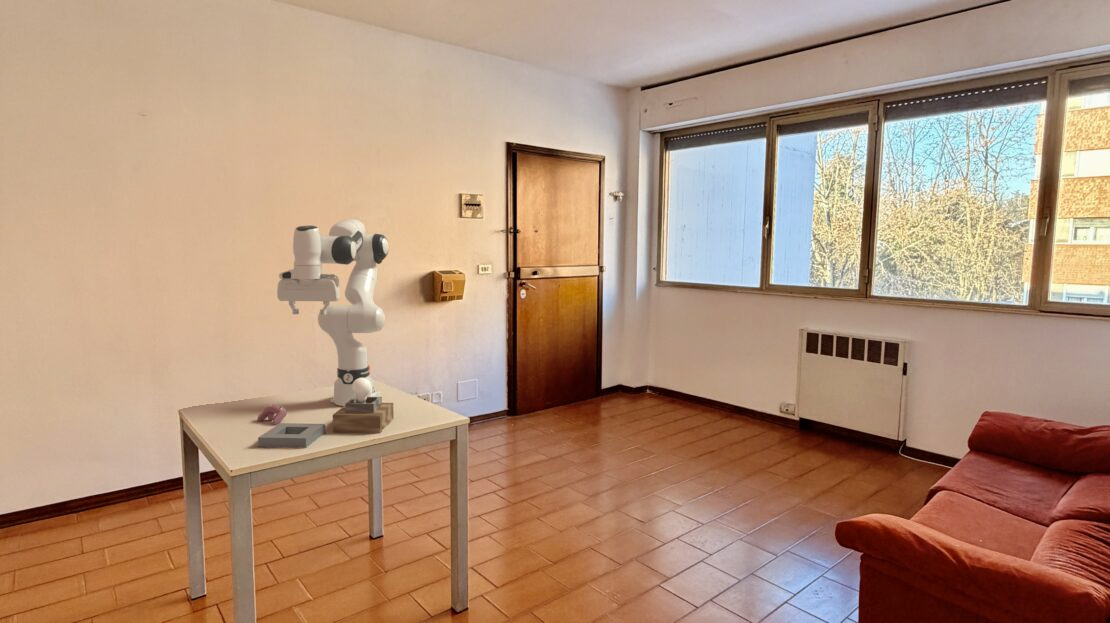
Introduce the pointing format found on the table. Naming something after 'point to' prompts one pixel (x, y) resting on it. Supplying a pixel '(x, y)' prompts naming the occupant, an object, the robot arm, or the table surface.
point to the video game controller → (273, 414)
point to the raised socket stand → (363, 416)
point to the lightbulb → (361, 389)
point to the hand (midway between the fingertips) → (309, 314)
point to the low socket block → (291, 435)
